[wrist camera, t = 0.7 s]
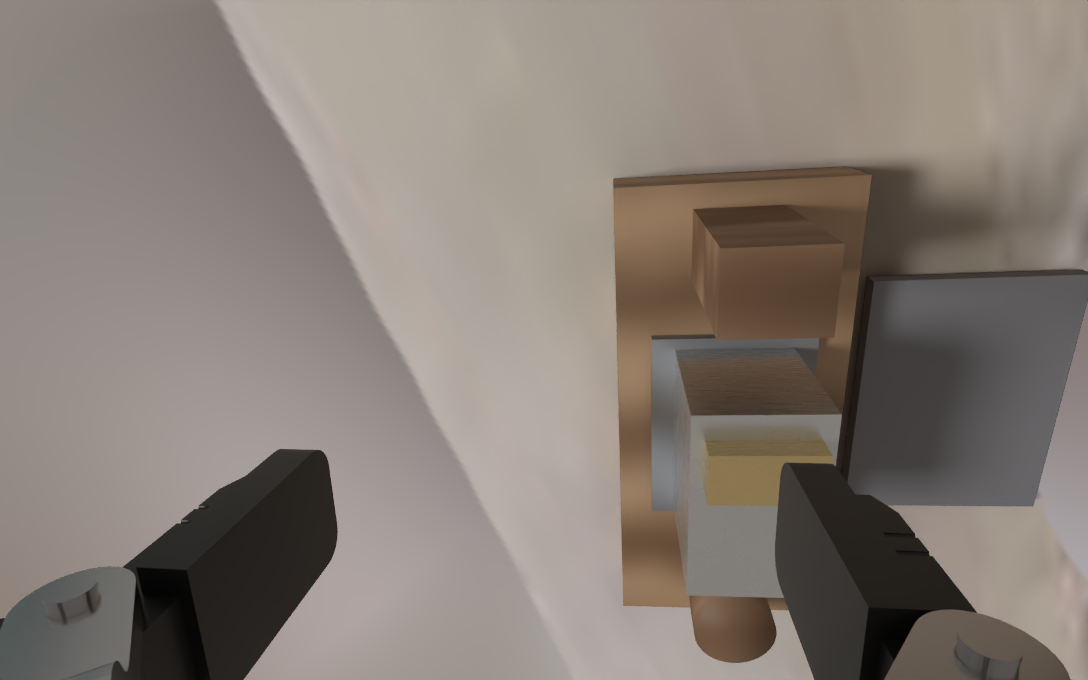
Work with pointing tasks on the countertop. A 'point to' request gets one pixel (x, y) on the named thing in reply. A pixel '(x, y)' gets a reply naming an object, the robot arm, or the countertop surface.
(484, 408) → the countertop surface
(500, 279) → the countertop surface
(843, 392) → the plane body
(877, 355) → the rubber mat
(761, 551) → the grey labelled box
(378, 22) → the countertop surface
